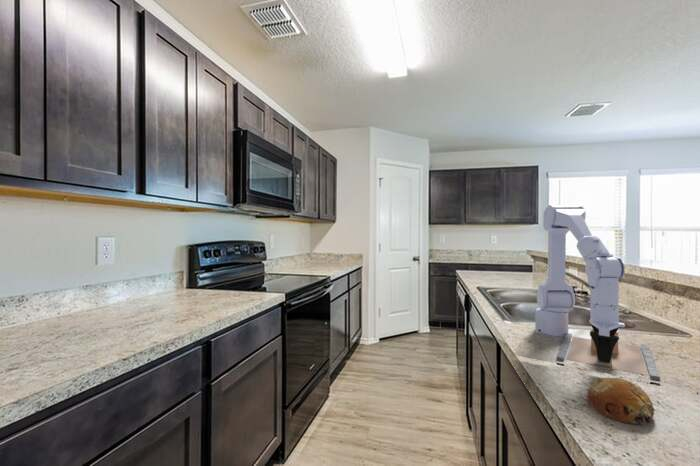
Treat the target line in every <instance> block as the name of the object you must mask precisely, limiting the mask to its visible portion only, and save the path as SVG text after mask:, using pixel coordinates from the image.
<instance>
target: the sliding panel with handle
mask: <svg viewBox="0 0 700 466" xmlns="http://www.w3.org/2000/svg"><path fill="white" fill-rule="evenodd" d="M568 349H569V350H568V351H567V354H566V357H565V358H566V361H567V360H568V361H573V362H577V363H583V364H587V365H592V366H598V367H603V368H608V369H612V370H613V369H614V370H619V371H624V372H628V373H634V374H639V375H644V376H648V371H647V370H646V364H645V361H644V357H643V354H642V352H641V347H640V346H636V345H629V344H623V343H618V354H615V353H612V357H611V361H610V363H604V362H599V360H598V356H597V351H596V350H591V338H584V337H578V336H572V338H571V341H570V345H569V348H568Z"/></svg>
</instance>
